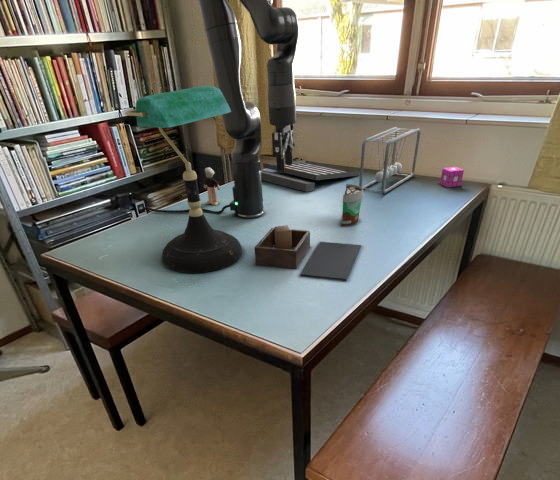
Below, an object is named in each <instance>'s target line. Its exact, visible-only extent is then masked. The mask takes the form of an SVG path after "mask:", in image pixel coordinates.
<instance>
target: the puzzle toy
mask: <svg viewBox="0 0 560 480" xmlns="http://www.w3.org/2000/svg"><path fill="white" fill-rule="evenodd" d="M464 171H465V170H464V169H462V168H460V167H457V166H450V167H449V166H448V167H443V168H442V170H441V175H440V180H439V184H440V185H442V186H444V187H445V188H454V187H455V188H456V187H461V185H462V180H463V177H464V173H465V172H464Z"/></svg>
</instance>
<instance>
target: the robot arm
mask: <svg viewBox="0 0 560 480" xmlns="http://www.w3.org/2000/svg"><path fill="white" fill-rule="evenodd" d="M197 1H198V6H199V10H200V15H201V19H202V23H203V24H202V25H203V29H204V33H205V38H206V42H207V46H208V50H209V54H210V58H211V63H212V68H213V73H214V76H215V80H216V85H217V88H218V89H220V91H221V92H222V94H223V96H224V98H225V99H226V101H227V103H228V105H229V107H230V110H231V112H229V113H226V114H222V115H221V118H222V119H221V120H222V124H223V126H224V127H223V128H224V129H225V131H226V133H227V134H228V136H229V137H230V138H232V139H233V140H235V142H234V146H233V149H232V150H231V154H230V155H231V165H232V175H233V176H232V177H233V186H232V187H231V188H232V198H233V199H232V200H231V201H230V202H229V204H226V205H224V206H223V207H222V208H221V209H220V210H217V211H216V210H211V209H206V208H201V209H202V212H206V213H210V214H222V213H224V211H225V210H226V209H227V208H229V209H230V211H231V212H232V211H233V212H234V216H235V217H239V218H243V219H254V218H259V217H262V216H263V215H264V213H265V211H264V198H263V196H264V195H263V183H262V181H263V180H261V170H262V168H261V151H262V148H263V147H262V143H263V142H262V140H263V139H262V121H261V119H262V118H261V114H260V111H259V109H258V106H256V105H255V104H254V103H253V102H252V101H247V100H245V101H244V97H243V91H242V86H241V65H242V64H241V63H242V41H241V35H240V29H239V24H238V20H237V16H236V13H235V11H234V9H233V7H232V5H231V4H230V2H229V0H197ZM273 1H274V0H239V2H240V3H241V4H242V6H243V7H244V8H245V9H246V11H247V12H248V13H249V15H250V19H251V22H252V24H253V27H254V29H255V31H256V33H257V35H258V37H259V38H260V39H261V40H262V41H263V42H264V43H265V44H267V45H270V46H271V45H272V46H273V45H276V50H275V54H274V55H273V56H271V57H270V58H268V59H267V63H266V72H267V73H266V74H267V105H268V106H267V107H268V120H269V124H270V126H274V127H275V132H272V133H271V145H272V148H271V149H272V157H273V158H275V161H276V162H275V163H277V171H276V172H277V173H284V171H285V164H286V165H292V164H293V161H294V158H293V157H294V156H293V151H294V147H295V146H296V143H295V142H296V141H295V139H296V138H295V125H294V124H296V123H297V100H296V98H297V97H296V87H295V67H294V65H295V59H296V54H297V49H298V41H299V33H300V25H299V19H298V16H297V14H296V12H295V10H294V9H292V8H291V7H287V6H285V7H284V6H282V7H274V6H273ZM190 209H191V208H188V209H179V210H176V209H175V210H174V209H173V210H171V209H170V210H169V209H156V208H152V207H150V206H149V207H148V206H144V207H142V208H141V209H140V212H144V211H145V210H147V211H151V212H154V213H167V214H182V213H189V210H190Z"/></svg>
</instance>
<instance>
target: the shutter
mask: <svg viewBox="0 0 560 480" xmlns="http://www.w3.org/2000/svg"><path fill="white" fill-rule="evenodd" d="M262 168H264V169H267V170H263V169H261V181H265V182H268V183H272V184H276V185H280V186H284V187H287V188H291V189H294V190H299V191H301V192H302V191H303V192H307V193H308V192H312V191H313V190H314V189H315V185H316V183H315V182H312V181H309V180H304V179H300V178H305V179H310V180H313V181H321V180H331V179H340V178H350V177H357V176H359V175H360V170H354V169H349V168H346V167H345V168H344V167H339V166H334V165H331V164H330V165H329V164H324V163H319V162H316V161H311V160H306V159H305V160H293V164H292V165H286V164H285V171H284V172H283V173H284V174H288V175H284V174H280V173H276V172H277V163H276V162H264V163H263V164H262ZM268 170H272V171H276V172H272V171H268ZM289 175H292V176H289ZM293 176H297V178H296V177H293ZM298 177H300V178H298Z"/></svg>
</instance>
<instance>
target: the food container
mask: <svg viewBox="0 0 560 480" xmlns="http://www.w3.org/2000/svg"><path fill="white" fill-rule="evenodd" d="M362 187H363V186H362ZM362 187H360V186H359V185H357V184H351V183H346V184H345V190H344V194H342V215H341V227H350V226H354V225H356V224H358V223H359V219H360V214H361V213H360V212H361V206H362V205H361V204H362V200H363V198H365V193H364V190H363V189H362Z"/></svg>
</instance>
